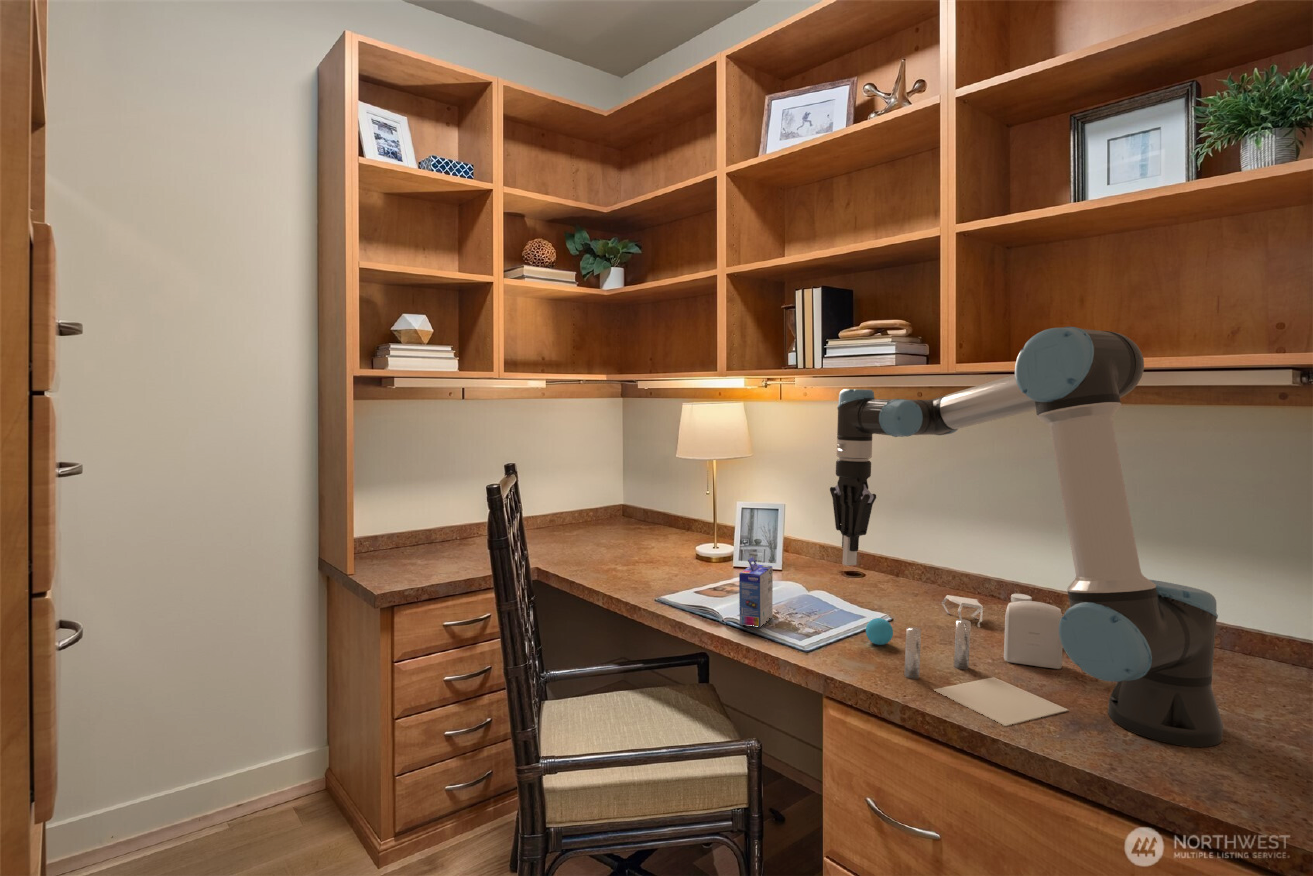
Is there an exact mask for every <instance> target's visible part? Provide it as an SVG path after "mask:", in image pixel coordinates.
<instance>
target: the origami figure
mask: <svg viewBox="0 0 1313 876" xmlns="http://www.w3.org/2000/svg"><path fill="white" fill-rule="evenodd" d="M947 600H949V601H950V602H952V603H955V604H957V605H959V607H958V608H957V614H958V617H959V618H958V619H963V617H962V613H961V612H962V609H963V607H969V608H974V609H977V610H975V611H974V612H973V613H972V614H971V615H970V617H971V618H973V619H976V620H979V621H978V622H977V627H978V628H980V627H981V624H980V623H982V622H983V619H984V614H983V611H984V610H985V609H984V606H983V605H982V604H981V603H980V602H979V599H976V598H969V597H961V596H957V595H949V594H947V595H946V596H945V597H944V599H943V600H942V602H941V605H942V607H943V609H944V610H945V611H946V613H947V615H950V612H949V610H948V607H947V606H946V602H947ZM978 614H980V615H979V617H976V616H977V615H978Z"/></svg>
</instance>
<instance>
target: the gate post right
mask: <svg viewBox="0 0 1313 876" xmlns="http://www.w3.org/2000/svg"><path fill="white" fill-rule="evenodd" d="M954 639H955V640H954V657H953V658H954V660H953V667H954V668H955V669H959V670H969V665H970V664H969V663H970V644H971V643H970V641H971V640H970V639H971V621H970V620H968V619H963V618H962V619H960V618H958V619H956V620H955V637H954Z"/></svg>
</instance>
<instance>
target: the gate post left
mask: <svg viewBox="0 0 1313 876" xmlns="http://www.w3.org/2000/svg"><path fill="white" fill-rule="evenodd" d="M921 638H922V629H921V628H920V627H917V626H908V627H906V628H905V651H904V652H905V654H904V677H905V678H907V679H910V680H917V679H919V678H920V667H921V666H920V665H921V642H922V641H921V640H922V639H921Z"/></svg>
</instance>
